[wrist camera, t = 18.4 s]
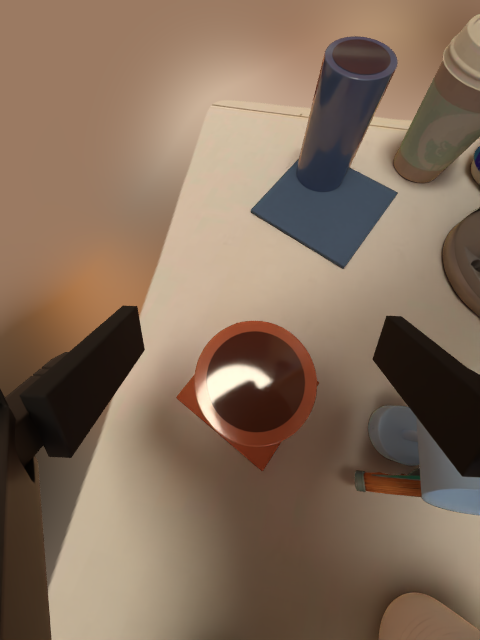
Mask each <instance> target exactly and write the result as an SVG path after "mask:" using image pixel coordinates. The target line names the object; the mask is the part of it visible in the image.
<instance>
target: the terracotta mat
mask: <svg viewBox="0 0 480 640" xmlns="http://www.w3.org/2000/svg"><path fill="white" fill-rule="evenodd" d="M236 324H237V323H236ZM194 377H195V375H194V376H193V377H192V378H191V380H190V381H189V382H188V383H187V385H186V386H185V387H184V388H183V389H182V391H181V392H180V393H179V394H178V396H177V397H176V398H177V399H178V400H179V401H181V402H182V403H183V404H184V405H185V406H186V407H188V408H189V409H190V410H191V411H192V412H193V413H195V414H196V415H197V416H198V417H199V418H200V419H202V420H203V421H204V422H205V423H206V424H208V425H209V426H210V424H209V423H208V422H207V420H206V419H205V418H204V416H203V414H202V412H201V410H200V408H199V406H198V403H197V399H196V396H195V388H194ZM318 384H319V382H318V381H317V386H318ZM210 427H211V426H210ZM211 428H212V427H211ZM212 429H213V428H212ZM213 430H214V429H213ZM217 433H218V432H217ZM218 434H219V433H218ZM219 435H220V434H219ZM220 436H222V435H220ZM222 437H223V436H222ZM223 438H224V439H225V440H226V441H227V442H229V443H230V444H231V445H232V446H233V447H234V448H236V449H237V450H238V451H239V452H240V453H241V454H243V455H244V456H245V457H246V458H247V459H248V460H250V461H251V462H252V463H253V464H254V465H255V466H257V467H258V468H259V469H260V470H261V471H263V470H264V468H265V467H266V465H267V464H268V462H269V460H270V459H271V457H272V456H273V454H274V453H275V451H276V450H277V448H278V446H279V445H280V443H281V442H282V441H281V442H279V443H276V444H273V445H269V446H261V447H253V446H245V445H241V444H238V443H235V442H232V441H230V440H228V439H226V438H225V437H223Z"/></svg>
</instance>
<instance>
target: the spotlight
mask: <svg viewBox="0 0 480 640" xmlns="http://www.w3.org/2000/svg"><path fill="white" fill-rule="evenodd" d="M368 432H369V437H370V440H371V442H372V444H373V446H374V447H375V449H376V450H377V451H378V452H379V453H380V454H381V455H383V456H384V457H386V458H387V459H390V460H392V461H395V462H398V463H401V464H404V465H409V466H414V465H420V480H421V495H422V499H423V500H424V501H425V502H427V503H429V504H431V505H433V506H436V507H439V508H442V509H446V510H450V511H455V512H460V513H466V514H473V515H480V477H462V476H461V475H460V473H459V472H458V471H457V469H456V468H455V467H454V465H453V464H452V463H451V462H450V460H449V459H448V458H447V456H446V455H445V454H444V452H443V451H442V450H441V448H440V447H439V446H438V445H437V443H436V442H435V441H434V439H433V438H432V437H431V435H430V434H429V433H428V431H427V430H426V429H425V427H424V426H423V425H422V424H421V422H420V421H419V420H418V418H417V417H416V416H415V414H414V413H413V412H412V410H411V409H410V408H409V407H406V406H383V407H380V408H378V409H377V410H375V411H374V412H373V414H372V415H371V417H370V420H369V424H368Z"/></svg>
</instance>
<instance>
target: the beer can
mask: <svg viewBox="0 0 480 640" xmlns="http://www.w3.org/2000/svg"><path fill="white" fill-rule="evenodd" d="M471 173H472V176H473V178H474V179H475V181H476V182H477V183H478V184H479V185H480V146H479V147H478V148H477V149H476V151H475V153H474V157H473V162H472V165H471Z"/></svg>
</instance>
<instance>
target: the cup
mask: <svg viewBox="0 0 480 640" xmlns="http://www.w3.org/2000/svg"><path fill="white" fill-rule="evenodd" d="M379 640H480V630H479V629H477V628H476V627H474V626H473V625H472V624H470V623H469V622H467V621H466V620H465V619H463V618H462V617H461V616H459V615H458V614H456V613H455V612H454V611H452V610H451V609H449V608H448V607H446V606H445V605H444V604H442V603H441V602H439V601H438V600H436V599H434V598H433V597H431V596H428V595H426V594H423V593H415V592H413V593H406V594H403V595H401V596H399V597H397V598H396V599H395V600H394V601H392V602H391V604H390V605H389V606H388V607H387V609H386V611H385V613H384V615H383V617H382V621H381V625H380V630H379Z"/></svg>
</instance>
